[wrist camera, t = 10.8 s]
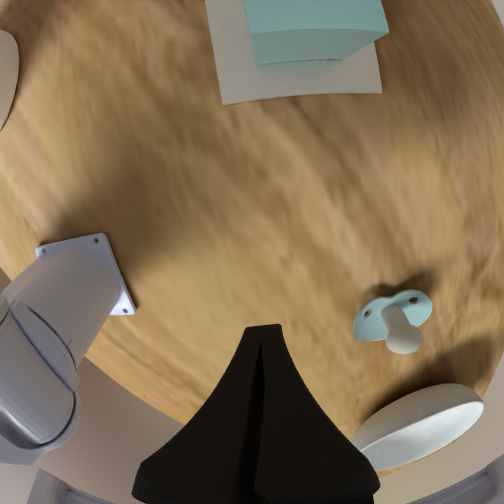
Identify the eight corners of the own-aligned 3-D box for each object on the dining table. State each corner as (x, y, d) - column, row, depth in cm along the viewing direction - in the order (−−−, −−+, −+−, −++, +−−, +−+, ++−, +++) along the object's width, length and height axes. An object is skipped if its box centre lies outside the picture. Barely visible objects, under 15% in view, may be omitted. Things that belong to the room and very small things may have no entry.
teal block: (256, 65, 14) (251, 34, 8) (242, -7, 11) (229, -60, 5) (345, 59, 13) (389, 32, 7) (328, -12, 10) (356, -61, 5)
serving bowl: (320, 408, 30) (325, 455, 24) (470, 337, 24) (494, 377, 18) (359, 448, 38) (364, 479, 32) (463, 401, 32) (476, 430, 26)
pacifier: (416, 323, 24) (423, 275, 21) (440, 370, 18) (456, 324, 15) (349, 342, 25) (346, 296, 22) (363, 395, 19) (365, 353, 16)
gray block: (224, 105, 16) (199, 99, 9) (203, -20, 11) (174, -70, 5) (377, 94, 15) (435, 88, 8) (349, -29, 10) (383, -75, 4)
